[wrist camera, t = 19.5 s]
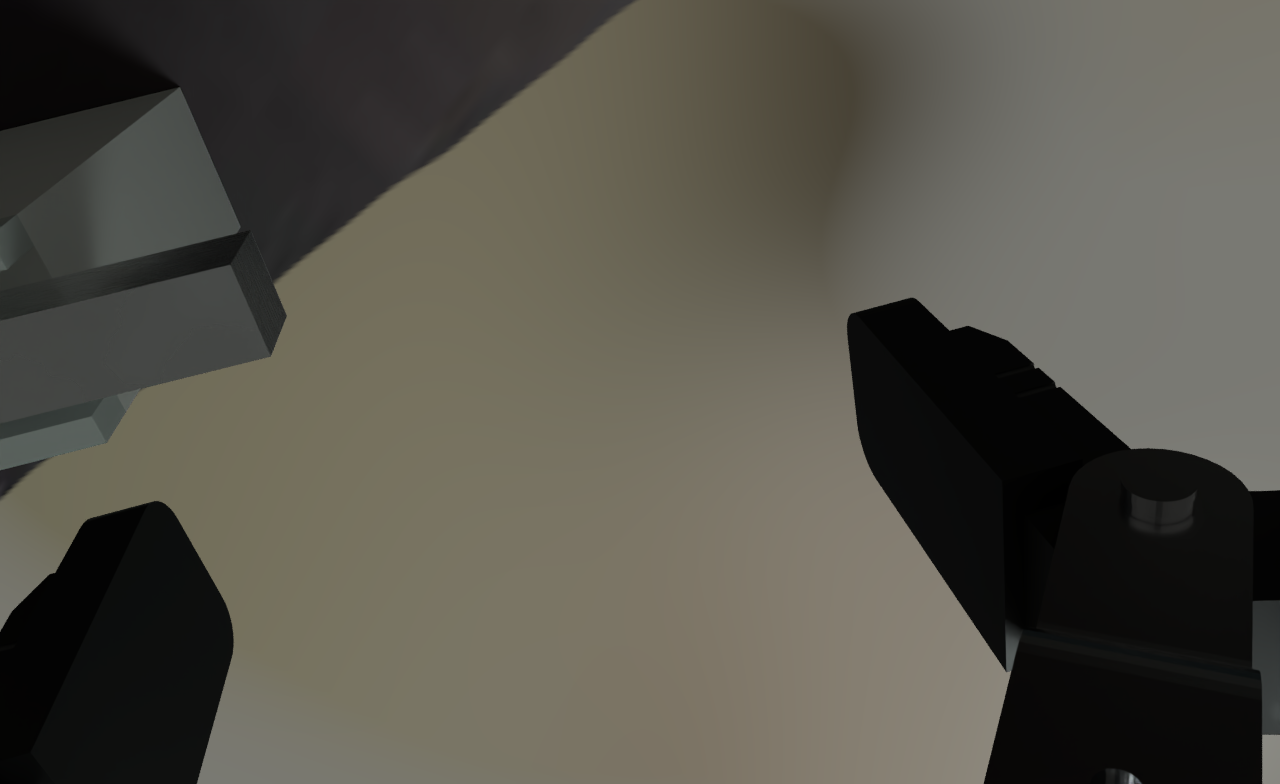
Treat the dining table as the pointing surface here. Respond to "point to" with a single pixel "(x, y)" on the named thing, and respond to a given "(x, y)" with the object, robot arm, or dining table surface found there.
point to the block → (135, 325)
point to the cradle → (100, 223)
